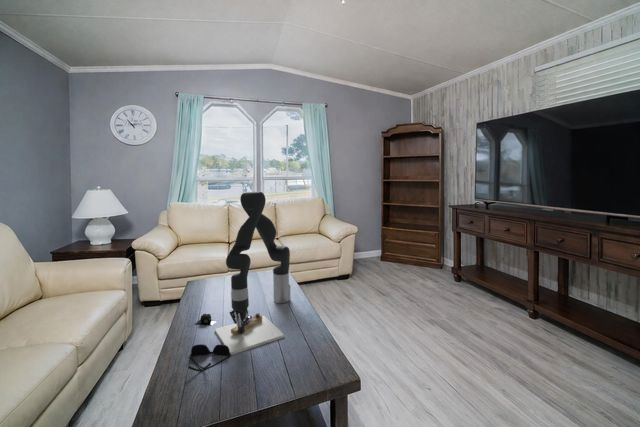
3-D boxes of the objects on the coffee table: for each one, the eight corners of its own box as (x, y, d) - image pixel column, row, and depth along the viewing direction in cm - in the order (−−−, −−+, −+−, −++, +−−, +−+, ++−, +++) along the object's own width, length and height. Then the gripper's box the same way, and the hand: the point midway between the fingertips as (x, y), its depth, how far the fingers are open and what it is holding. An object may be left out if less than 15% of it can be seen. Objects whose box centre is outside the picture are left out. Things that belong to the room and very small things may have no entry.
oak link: (257, 317, 154) (257, 311, 153) (264, 319, 151) (263, 313, 151) (230, 333, 138) (229, 326, 138) (236, 335, 136) (236, 329, 135)
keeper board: (263, 317, 157) (263, 307, 157) (284, 337, 138) (284, 325, 137) (214, 331, 143) (214, 320, 143) (230, 355, 124) (230, 342, 123)
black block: (220, 321, 155) (220, 312, 154) (214, 328, 148) (213, 319, 147) (198, 319, 156) (197, 311, 156) (190, 326, 149) (190, 317, 149)
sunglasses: (175, 377, 111) (174, 364, 110) (191, 354, 125) (191, 343, 124) (220, 377, 111) (220, 364, 110) (231, 354, 125) (231, 343, 125)
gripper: (256, 297, 135) (257, 333, 136) (236, 291, 142) (237, 326, 144) (243, 302, 128) (245, 341, 130) (223, 296, 136) (225, 332, 138)
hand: (241, 333), depth 137 cm, fingers closed
